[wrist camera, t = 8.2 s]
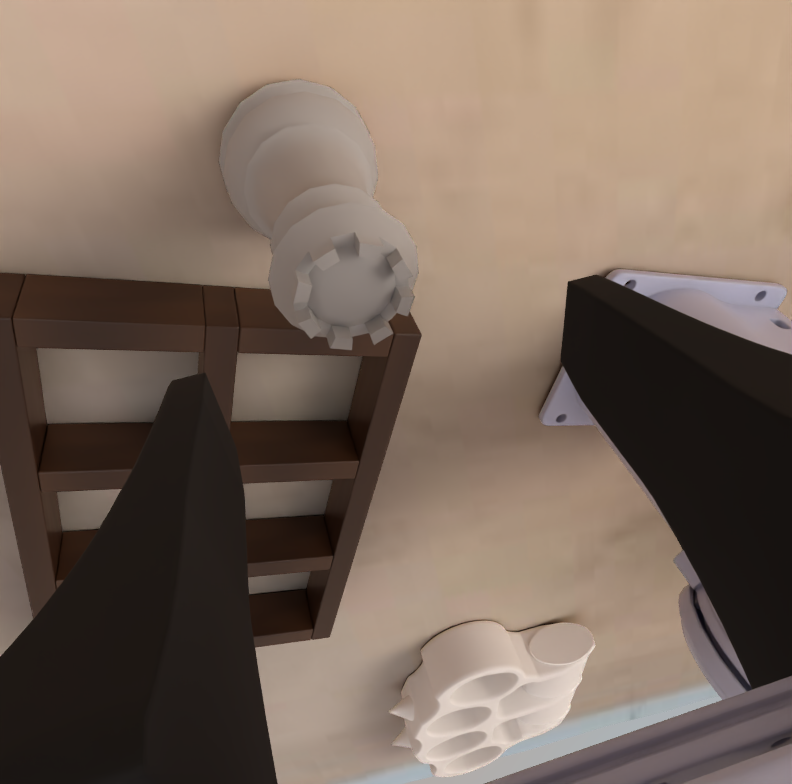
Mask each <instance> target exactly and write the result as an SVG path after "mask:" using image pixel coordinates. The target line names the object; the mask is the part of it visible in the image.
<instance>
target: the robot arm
mask: <svg viewBox="0 0 792 784" xmlns="http://www.w3.org/2000/svg"><path fill="white" fill-rule="evenodd" d="M629 280H630V282H629V283H628V284H627V285H625V284H626V282H628V281H629ZM624 285H625V286H624ZM786 294H787V289H786V288H785V287H784V286H783V285H781V284H779V283H769V282H758V281H747V280H736V279H726V278H715V277H704V276H693V275H682V274H671V273H660V272H649V271H638V270H627V269H616V270H614V271H612V272H610V273H609V274H608V275H607V276H606V278H604V277H602V276H599V275H593V276H589V277H585V278H581V279H577V280H573V281H569V282H568V287H567V297H566V308H565V318H564V329H563V340H562V350H561V363H562V365H563V366H562V368H561V370H560V372H559V374H558V376H557V378H556V381H555V383H554V385H553V387H552V389H551V391H550V393H549V395H548V397H547V399H546V401H545V403H544V405H543V407H542V409H541V412H540V414H539V419H540V421H541V422H542V424H543V425H546V426H567V425H595V426H596V428H597V429H598V430H599V432H600V433H601V434H602V436H603V437H604V438H605V440H606V441H607V443H608V444H609V445H610V447H611V448H612V449H613V451H614V452H615V453H616V455H617V456H618V458H619V459H620V460H621V462H622V463H623V464H624V466H625V467H626V468H627V470H628V471H629V473H630V474H631V475H632V477H633V478H634V479H635V481H636V482H637V483H638V485H639V486H640V487H641V489H642V490H643V492H644V493H645V494H646V496H647V497H648V498H649V500H650V501H651V502H652V504H653V505H654V507H655V508H656V509H657V511H658V512H659V513H660V515H661V516H662V517H663V519H664V520H665V522H666V523H667V524H668V526H669V527H670V528H671V530H672V531H673V533H674V534H675V536H676V538H677V540H678V541H679V543H680V545H681V547H682V549H683V550H682V551H681V552H680V553H679V554H678V555H677V556H676V557H675V558H674V560H673V561H674V563H675V564H676V566H677V567H678V569H679V570H680V571H681V573H682V574H683V576H684V577H685V578H686V580H687V581H688V583H689V584H688V585H687V586H686V587H684V588H683V590H682V591H681V593H680V595H679V611H680V616H681V624H682V630H683V634H684V637H685V640H686V642H687V645H688V647H689V649H690V651H691V653H692V655H693V657H694V659H695V661H696V663H697V664H698V666H699V668H700V669H701V671H702V673H703V674H704V676H705V677H706V679H707V680H708V681H709V683H710V684H711V686H712V687H713V688H714V690H715V691H716V692H717V694H718V695H719V696H720V697H721V698H722V700H721V701H719V702H716V703H713V704H710V705H707V706H704V707H701V708H699V709H696V710H693V711H690V712H687V713H684V714H681V715H679V716H676V717H673V718H670V719H668V720H664V721H662V722H659V723H656V724H653V725H650V726H647V727H644V728H642V729H639V730H636V731H633V732H630V733H627V734H624V735H622V736H619V737H616V738H613V739H610V740H607V741H605V742H602V743H599V744H596V745H593V746H590V747H588V748H585V749H582V750H579V751H576V752H573V753H570V754H567V755H565V756H562V757H559V758H556V759H553V760H551V761H547V762H545V763H542V764H539V765H536V766H533V767H531V768H527V769H525V770H522V771H519V772H516V773H514V774H510V775H507V776H505V777H502V778H499V779H496V780H493V781H490V782H488V783H485V784H792V320H790V319H789V318H788V317H786V316H785V315H784V314H782V313H781V312H780V311H778V310H777V308H778V307H779V305H780V304H781V303H782V301H783V300H784V298H785V296H786ZM0 784H277V779H276V773H275V767H274V761H273V756H272V750H271V744H270V738H269V733H268V727H267V721H266V715H265V709H264V703H263V696H262V690H261V684H260V678H259V671H258V665H257V658H256V651H255V645H254V638H253V631H252V624H251V616H250V604H249V588H248V564H247V540H246V517H245V497H244V488H243V482H242V476H241V470H240V465H239V459H238V453H237V448H236V445H235V443H234V440H233V438H232V435H231V433H230V431H229V428H228V426H227V423H226V421H225V419H224V416H223V414H222V411H221V409H220V406H219V404H218V402H217V399H216V397H215V394H214V392H213V390H212V387H211V385H210V382H209V380H208V378H207V375H206V373H201V374H197V375H193V376H189V377H185V378H181V379H177V380H173V381H172V382H171V383H170V385H169V386H168V389H167V391H166V394H165V396H164V399H163V401H162V404H161V406H160V409H159V411H158V414H157V416H156V419H155V421H154V423H153V426H152V428H151V430H150V433H149V435H148V437H147V439H146V441H145V444H144V446H143V448H142V450H141V452H140V454H139V456H138V458H137V461H136V463H135V465H134V467H133V469H132V471H131V473H130V475H129V477H128V479H127V480H126V482H125V484H124V486H123V488H122V490H121V491H120V493H119V495H118V497H117V499H116V501H115V502H114V504H113V506H112V508H111V510H110V511H109V513H108V515H107V517H106V518H105V520H104V521H103V523H102V525H101V526H100V528H99V530H98V531H97V533H96V534H95V536H94V538H93V539H92V541H91V542H90V544H89V545H88V547H87V548H86V550H85V551H84V553H83V554H82V556H81V557H80V559H79V560H78V561H77V563H76V564H75V566H74V567H73V568H72V570H71V571H70V572H69V574H68V575H67V577H66V578H65V579H64V581H63V582H62V583H61V585H60V586H59V587H58V588H57V590H56V591H55V592H54V594H53V595H52V596H51V597H50V599H49V600H48V601H47V603H46V604H45V605H44V607H43V608H42V609H41V610H40V612H39V613H38V614H37V615H36V617H35V618H34V619H33V620H32V621H31V623H30V624H29V625H28V626H27V627H26V628H25V630H24V631H23V632H22V633H21V634H20V635H19V636H18V638H17V639H16V640H15V641H14V642H13V643H12V645H11V646H10V647H9V648H8V649H7V650H6V651H5V652H4V653H3V654H2V655H1V657H0Z"/></svg>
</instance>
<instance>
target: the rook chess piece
mask: <svg viewBox="0 0 792 784" xmlns="http://www.w3.org/2000/svg"><path fill="white" fill-rule="evenodd" d="M219 165H220V168H221V172H222V175H223V179H224V182H225V186H226V190H227V192H228V193H229V196H230V199H231V203H232V204H233V206H234V207H235V208H236V209H237V211H238V212H239V213H240V214H241V216H242V217H243V218H244V220H245V221H246V222H247V223H248V225H249V226H250V227H251V228H252V229H253V230H255V231H257V232H258V233H260V234H262V235H264V236H265V237H267V238H269V239H271V244H270V246H271V250H272V254H273V257H272V262H271V267H270V272H269V277H268V281H269V285H270V289H271V293H272V297H273V300H274V304H275V306H276V307H277V308H278V309H279V311H280V312H281V313H282V314H283V315H284V316H285V318H286V319H287V320H288V321H289V322H290V324H291V325H293V326H295V327H297V328H299V329H301V330H303V331H305V332H306V333H307V335H308V336H309V337H310V338H311V339H312V338H313V337H314V336H318V337H327V340H328V343H329V347H330V348H333V349H344V350H352V343H353V338H352V337H354V336H358V335H362V334H367V333H369V334H370V336H371V339H372V341H373V344H374V345H375V344H376V343H378V342H380V341H381V340H383V339H385V338H386V337H388V336H390V335H391V334H393V331H392V329H391V327H390V325H389V323H388V321H389V320H391V319H392V318H393V317H394V316H395V314H396V313H398V314H401V315H405V316H408V314H409V312H410V309H411V306H412V303H413V300H414V298H415V296H414V294H413V292H412V290H413V287H414V284H415V281H416V278H417V276H418V273H419V272H418V258H417V247H416V245H415V243H414V241H413V239H412V238H411V236H410V234H409V232H408V231H407V229H406V227H405V225H404V224H403V223H401V222H400V221H399V220H397V219H396V218H394V217H393V216H391V215H390V214H388V213H387V212H385V211H384V210H383V209H382V208H381V206H380V204H379V203H378V201H377V200H375V199H374V198H373V195H374V191H375V188H376V184H377V181H378V168H377V158H376V149H375V144H374V142H373V140H372V138H371V137H370V133H369V131H368V129H367V127H366V125H365V123H364V122H363V120H362V118H361V116H360V114H359V112H358V111H357V109H356V107H355V106H354V105H353V104H351V103H350V102H349V101H348V100H346V99H345V98H344V97H343V96H341V95H340V94H339V93H337V92H336V91H335V90H334V89H332V88H331V87H329V86H325V85H321V84H317V83H313V82H309V81H305V80H302V79H296V80H290V81H284V82H278V83H272V84H267V85H265V86H264V87H262V88H261V89H259V90H258V91H257V92H255V93H254V94H252V95H251V96H249V97H248V98H246V99H245V100H243V101H242V102H240V103H239V105H238V107H237V108H236V110H235V112H234V113H233V115H232V116H231V118H230V120H229V121H228V123H227V125H226V126H225V128H224V130H223V134H222V141H221V149H220V156H219Z"/></svg>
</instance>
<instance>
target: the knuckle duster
mask: <svg viewBox="0 0 792 784" xmlns="http://www.w3.org/2000/svg"><path fill="white" fill-rule="evenodd" d="M595 645H596V644H595V642H594V638H593V635H592V633H591V632H590V630H589V629H587V628H586V627H584V626H582V625H579V624H575V623H556V624H550V625H541V626H538V627H534V628H531V629H527V630H524V631H520V632H510V631H506V630H505V628H504V627H503V626H502V625H500V624H499V623H496V622H493V621H473V622H468V623H464V624H461V625H458V626H455V627H452V628H450V629H448V630H446V631H444V632H442V633H440V634H438V635H437V636H435V637H434V638H433V639H431V640H430V641H429V642H428V643H427V644H426V645H425V646H424V647H423V648H422V649H421V655H422V659H423V662H422V664H421V666H420V667H419V668H418V669H417V670H416V671H415V672H414V673H413V674H411V675H410V676H409V677H408V678H407V680H406V682H405V684H404V686H403V688H402V691H401V695H402V700H401V701H400V702H399V703H398V704H397V705H395V706H394V707H393V708H392V709H391V710H390V711H388V712H389V713H391V714H394V715H397V716H399V717H402V718H404V722H405V726H406V727H405V728H404V729H403V730H402V731H401V733H400V734H399V735H398V736H397V738H396V739H395V740H394V741H393V742H392V744H391V745H395V746H401V747H408V748H412V752H413V754H414V756H415V757H416V758H417V759H418V760H419V761H420V762H421V763H428V764H429V765H430V768H431V772H432V774H433V775H434V776H438V777H450V776H456V775H461V774H465V773H468V772H471V771H474V770H476V769H478V768H481V767H483V766H485V765H487V764H489V763H491V762H492V761H494V760H495V759H497V758H498V757H499V756H501V755H502V754H503V753H504V752H505V750H506V749H508V748H509V747H511V746H513V745H515V744H516V743H518V742H520V741H522V740H525V739H529V738H532V737H535V736H538V735H541V734H543V733H545V732H547V731H549V730H551V729H552V728H554V727H556V726H558V725H559V724H560V723H561V722H562V720H563V719H564V718H565V716H566V715H567V713H568V712H569V710H570V709H571V705H570V703H571V700H572V698H573V695H574V692H575V690H576V688H577V686H578V685H579V684H580V682H581V681H582V676H581V675H582V672H583V669H584V667H585V664H586V662H587V659H588V656H589V655H590V653H591V652H592V650H593V649H594V647H595Z"/></svg>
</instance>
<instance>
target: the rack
mask: <svg viewBox="0 0 792 784" xmlns="http://www.w3.org/2000/svg"><path fill="white" fill-rule="evenodd" d="M388 323H389V325H390V327H391V329H392V331H393V334H391V335H390V336H388V337H386V338H385V339H383V340H381V341H380V342H378V343H376V344H375V345H374V344H373V341H372V339H371V336H370V334H369V333H367V334H362V335H358V336H354V337H352V338H353V343H352V350H344V349H333V348H330V347H329V343H328V340H327V337H318V336H314V337H313V338H312V339H311V338H310V337H309V336H308V335H307V333H306V332H305V331H303V330H301V329H299V328H297V327H295V326H293V325H291V324H290V322H289V321H288V320H287V319H286V318H285V316H284V315H283V314H282V313H281V312H280V311H279V309H278V308H277V307H276V306H275V304H274V300H273V297H272V293H271V290H269V289H253V288H233V287H223V286H207V285H204V286H201V285H193V284H177V283H161V282H145V281H129V280H112V279H96V278H80V277H64V276H48V275H32V274H27V275H26V276H25V275H24V274H12V273H0V465H1V469H2V474H3V479H4V484H5V488H6V493H7V498H8V502H9V507H10V512H11V516H12V521H13V526H14V530H15V535H16V540H17V545H18V549H19V554H20V559H21V563H22V568H23V573H24V577H25V582H26V587H27V591H28V596H29V601H30V606H31V610H32V615H33V619H34V618H35V617H36V615H37V614H38V613H39V612H40V610H41V609H42V608H43V607H44V605H45V604H46V603H47V601H48V600H49V599H50V597H51V596H52V595H53V594H54V592H55V591H56V590H57V588H58V587H59V586H60V585H61V583H62V582H63V581H64V579H65V578H66V577H67V575H68V574H69V572H70V571H71V570H72V568H73V567H74V566H75V564H76V563H77V561H78V560H79V559H80V557H81V556H82V554H83V553H84V551H85V550H86V548H87V547H88V545H89V544H90V542H91V541H92V539H93V538H94V536H95V534H96V533H97V531H98V530H86V531H71V532H63V534H62V527H61V520H60V513H59V506H58V499H57V492H61V491H83V490H105V489H122V488H123V486H124V484H125V482H126V480H127V479H128V477H129V475H130V473H131V471H132V469H133V467H134V465H135V463H136V461H137V458H138V456H139V454H140V452H141V450H142V448H143V446H144V444H145V441H146V439H147V437H148V435H149V433H150V430H151V428H152V426H153V423H106V424H49V425H48V426H47V422H46V415H45V408H44V401H43V394H42V387H41V380H40V373H39V366H38V358H37V351H36V348H59V349H97V350H135V351H173V352H199V361H198V374H201V373H206V375H207V378H208V380H209V382H210V385H211V387H212V390H213V392H214V394H215V397H216V399H217V402H218V404H219V406H220V409H221V411H222V414H223V416H224V419H225V421H226V423H227V426H228V428H229V431H230V433H231V435H232V438H233V440H234V443H235V445H236V448H237V453H238V459H239V465H240V470H241V476H242V482H243V484H244V483H266V482H289V481H311V480H333V483H332V487H331V491H330V495H329V499H328V503H327V507H326V511H325V516H323V515H319V516H303V517H288V518H273V519H257V520H246V540H247V564H248V577H256V576H266V575H276V574H287V573H297V572H308V571H311V573H310V577H309V581H308V585H307V590H305V589H304V590H295V591H285V592H276V593H267V594H257V595H249V604H250V616H251V624H252V631H253V638H254V645H255V647H262V646H269V645H277V644H284V643H291V642H299V641H306V640H310V639H312V640H314V639H321V638H328V637H330V634H331V631H332V628H333V624H334V621H335V618H336V615H337V611H338V608H339V605H340V601H341V598H342V595H343V592H344V588H345V585H346V582H347V578H348V575H349V572H350V569H351V565H352V562H353V559H354V555H355V552H356V549H357V546H358V542H359V539H360V536H361V532H362V529H363V526H364V523H365V519H366V516H367V513H368V510H369V506H370V503H371V500H372V496H373V493H374V490H375V487H376V483H377V480H378V477H379V473H380V470H381V467H382V464H383V460H384V457H385V454H386V450H387V447H388V444H389V441H390V437H391V434H392V431H393V427H394V424H395V421H396V418H397V414H398V411H399V408H400V404H401V401H402V398H403V395H404V391H405V388H406V385H407V382H408V378H409V375H410V372H411V368H412V365H413V362H414V359H415V355H416V352H417V349H418V345H419V342H420V339H421V332H420V331H419V329H418V327H417V325H416V323H415V321H414V319H413V317H412V315H411V313H410V312H409V314H408V316H405V315H401V314H398V313H396V314H395V316H394V317H393V318H392V319H391V320H389V321H388ZM237 351H238V352H239V353H260V354H298V355H336V356H363V359H362V363H361V368H360V372H359V376H358V380H357V384H356V388H355V392H354V396H353V400H352V405H351V409H350V413H349V417H348V421H266V422H231V415H232V404H233V393H234V383H235V372H236V362H237Z"/></svg>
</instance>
